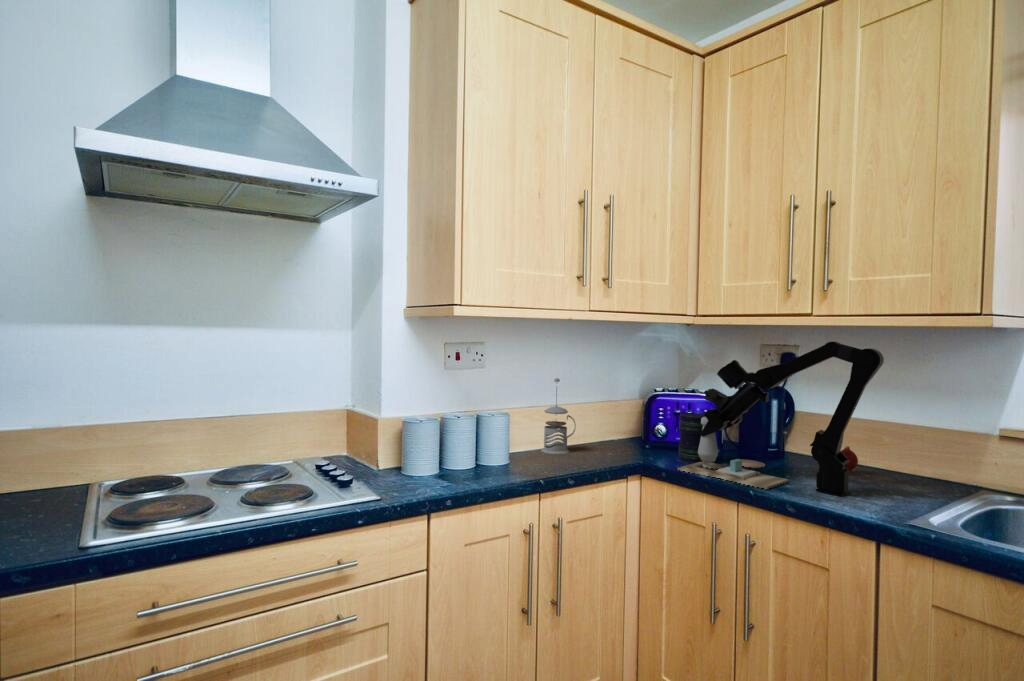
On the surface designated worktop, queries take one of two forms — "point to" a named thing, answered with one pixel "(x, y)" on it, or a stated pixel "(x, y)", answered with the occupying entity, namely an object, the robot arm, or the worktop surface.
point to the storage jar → (690, 437)
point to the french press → (556, 431)
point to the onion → (850, 458)
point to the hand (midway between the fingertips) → (703, 434)
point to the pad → (752, 464)
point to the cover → (737, 469)
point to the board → (755, 480)
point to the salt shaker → (707, 445)
